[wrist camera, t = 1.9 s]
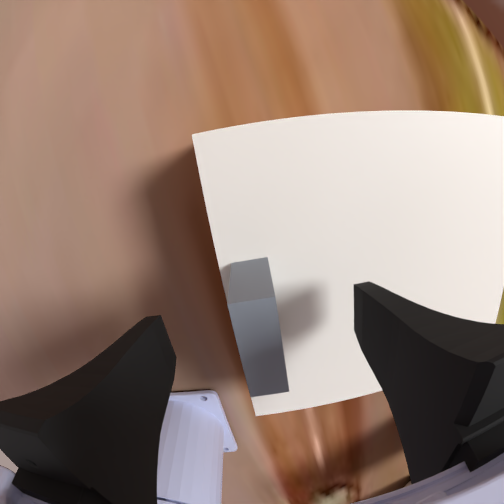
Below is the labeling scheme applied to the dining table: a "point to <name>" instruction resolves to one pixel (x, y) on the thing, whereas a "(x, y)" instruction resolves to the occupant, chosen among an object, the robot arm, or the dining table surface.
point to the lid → (348, 236)
